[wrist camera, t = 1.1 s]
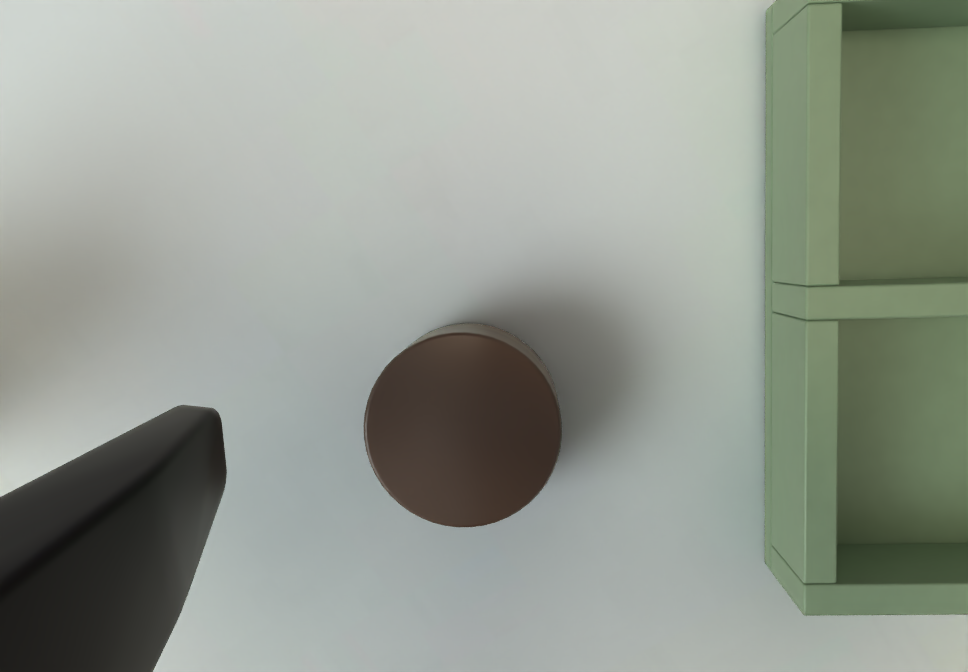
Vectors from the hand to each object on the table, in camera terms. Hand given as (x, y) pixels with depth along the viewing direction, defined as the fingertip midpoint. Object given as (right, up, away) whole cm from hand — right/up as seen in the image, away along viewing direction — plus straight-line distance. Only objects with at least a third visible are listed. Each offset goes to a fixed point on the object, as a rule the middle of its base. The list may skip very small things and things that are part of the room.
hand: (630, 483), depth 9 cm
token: (-2, 0, +12) cm, 12 cm away
